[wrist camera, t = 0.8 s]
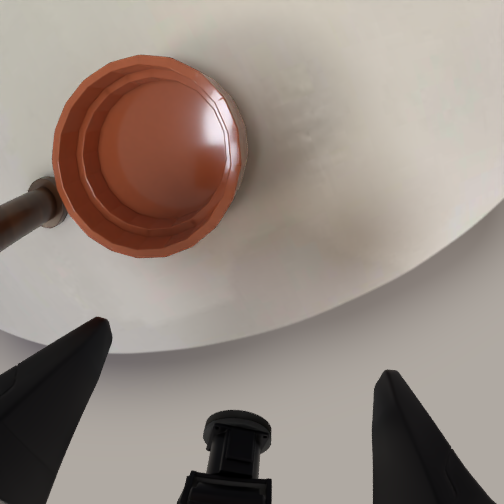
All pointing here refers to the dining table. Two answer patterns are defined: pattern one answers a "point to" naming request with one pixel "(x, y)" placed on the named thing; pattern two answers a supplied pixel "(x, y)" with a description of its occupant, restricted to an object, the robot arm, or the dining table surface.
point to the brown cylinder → (31, 211)
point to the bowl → (149, 155)
